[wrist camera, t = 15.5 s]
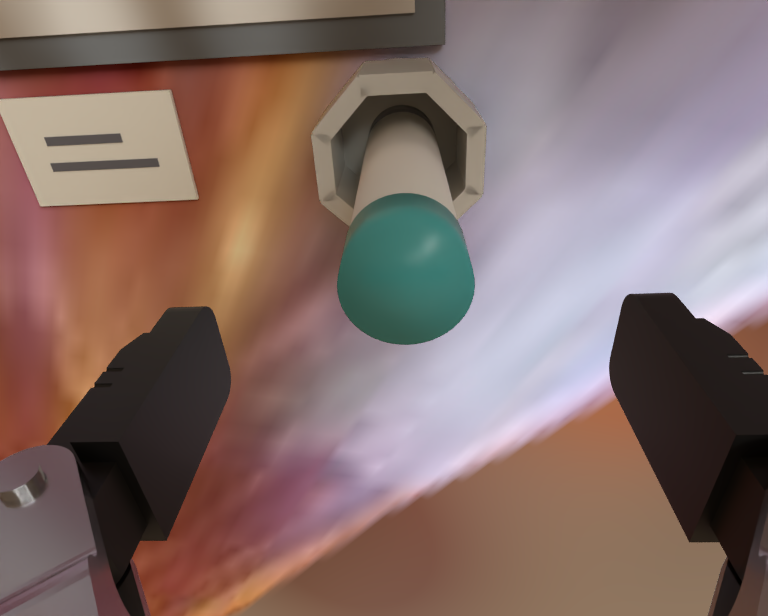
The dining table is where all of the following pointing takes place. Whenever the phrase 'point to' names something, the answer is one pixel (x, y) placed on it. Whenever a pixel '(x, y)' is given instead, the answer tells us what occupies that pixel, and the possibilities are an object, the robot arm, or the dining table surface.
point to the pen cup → (372, 96)
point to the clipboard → (205, 29)
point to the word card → (101, 147)
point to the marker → (404, 237)
